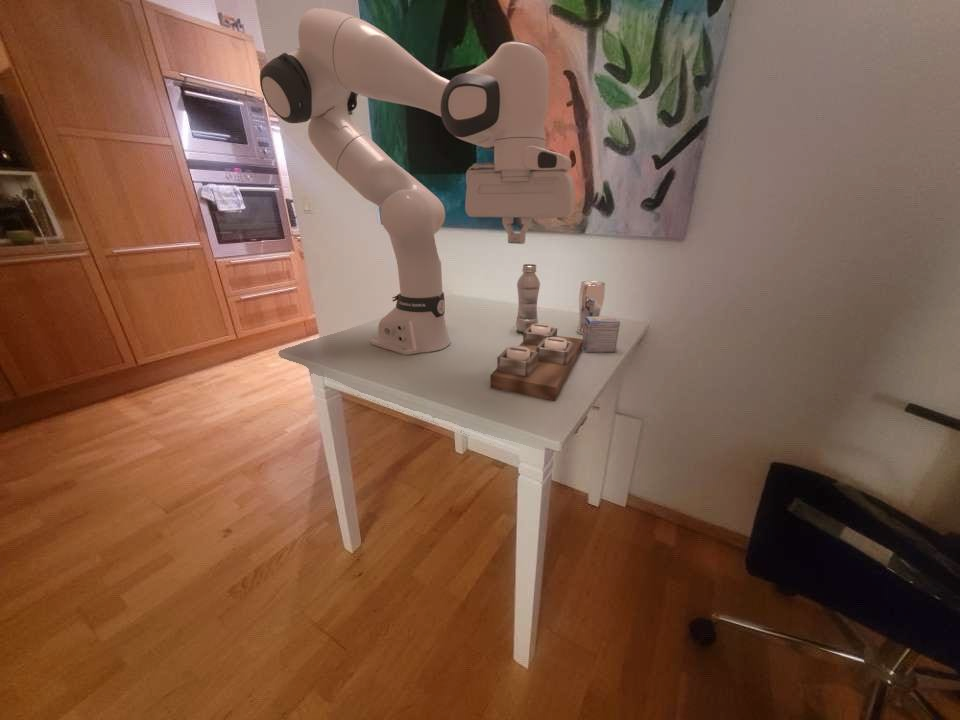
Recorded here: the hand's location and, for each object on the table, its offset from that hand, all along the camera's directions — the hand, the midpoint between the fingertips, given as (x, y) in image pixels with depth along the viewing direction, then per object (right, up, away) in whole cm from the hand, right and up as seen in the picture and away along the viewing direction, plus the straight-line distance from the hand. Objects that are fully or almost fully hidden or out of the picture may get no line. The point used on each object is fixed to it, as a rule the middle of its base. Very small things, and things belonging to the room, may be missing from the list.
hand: (516, 243), depth 69 cm
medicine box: (+25, -20, +29) cm, 43 cm away
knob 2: (+9, -17, +26) cm, 32 cm away
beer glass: (+26, -14, +41) cm, 51 cm away
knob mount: (+8, -24, +18) cm, 31 cm away
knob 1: (+1, -24, +11) cm, 26 cm away
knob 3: (+10, -21, +16) cm, 29 cm away
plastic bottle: (+7, -14, +42) cm, 45 cm away
